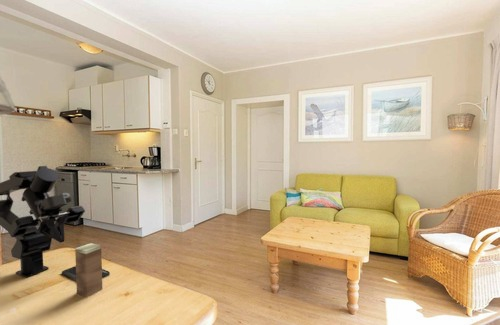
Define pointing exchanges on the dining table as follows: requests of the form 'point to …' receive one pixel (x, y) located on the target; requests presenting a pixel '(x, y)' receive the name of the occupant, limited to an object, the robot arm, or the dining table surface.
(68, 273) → the phone
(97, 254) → the walnut block
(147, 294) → the dining table surface
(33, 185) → the robot arm
